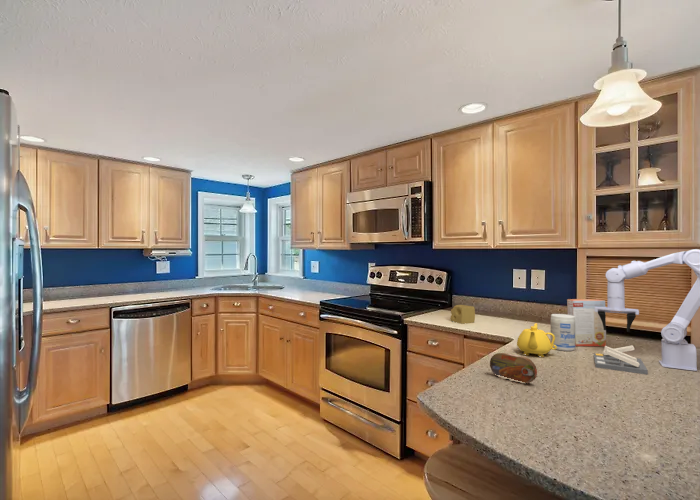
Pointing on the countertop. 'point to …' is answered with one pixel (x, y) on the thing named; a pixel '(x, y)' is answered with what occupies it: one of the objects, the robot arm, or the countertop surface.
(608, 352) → the rocker near
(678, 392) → the countertop surface
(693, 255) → the robot arm
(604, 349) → the rocker middle
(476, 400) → the countertop surface
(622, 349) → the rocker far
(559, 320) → the supplement tub
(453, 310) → the cheese
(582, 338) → the cracker box
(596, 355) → the switch base
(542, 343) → the teapot
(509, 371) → the tin
